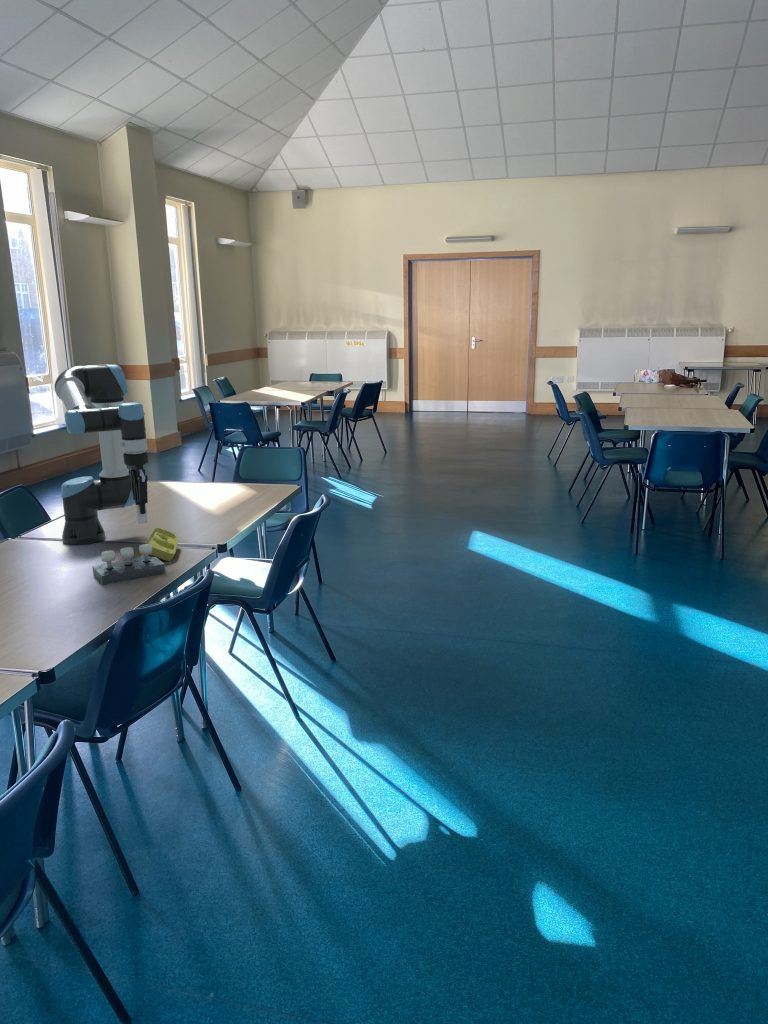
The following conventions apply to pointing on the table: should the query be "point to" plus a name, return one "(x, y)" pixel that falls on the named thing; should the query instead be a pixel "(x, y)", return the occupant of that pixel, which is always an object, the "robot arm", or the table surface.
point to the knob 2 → (145, 551)
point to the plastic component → (163, 544)
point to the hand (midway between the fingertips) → (142, 522)
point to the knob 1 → (108, 558)
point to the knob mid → (127, 554)
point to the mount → (128, 570)
